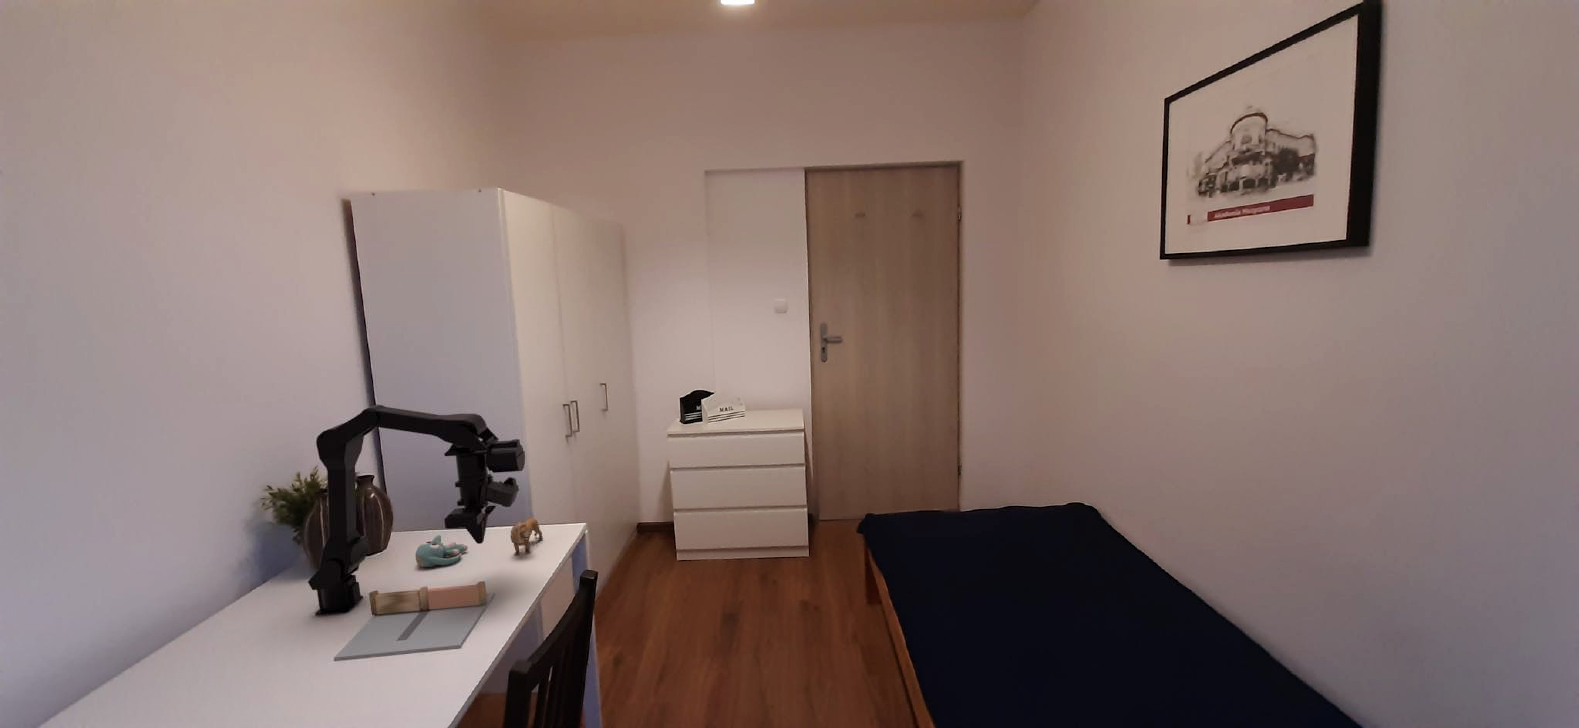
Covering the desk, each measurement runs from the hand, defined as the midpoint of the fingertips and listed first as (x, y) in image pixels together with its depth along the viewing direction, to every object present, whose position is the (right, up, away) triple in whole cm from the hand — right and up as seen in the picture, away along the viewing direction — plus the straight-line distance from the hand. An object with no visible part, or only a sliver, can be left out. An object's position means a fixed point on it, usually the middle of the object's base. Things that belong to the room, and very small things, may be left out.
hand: (480, 543), depth 138 cm
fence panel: (-3, -12, -4) cm, 13 cm away
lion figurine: (0, -9, +25) cm, 26 cm away
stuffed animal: (-19, -10, +20) cm, 29 cm away
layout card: (-7, -14, -10) cm, 18 cm away
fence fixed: (-15, -13, -6) cm, 20 cm away
